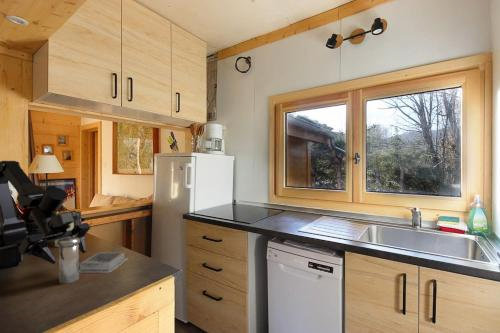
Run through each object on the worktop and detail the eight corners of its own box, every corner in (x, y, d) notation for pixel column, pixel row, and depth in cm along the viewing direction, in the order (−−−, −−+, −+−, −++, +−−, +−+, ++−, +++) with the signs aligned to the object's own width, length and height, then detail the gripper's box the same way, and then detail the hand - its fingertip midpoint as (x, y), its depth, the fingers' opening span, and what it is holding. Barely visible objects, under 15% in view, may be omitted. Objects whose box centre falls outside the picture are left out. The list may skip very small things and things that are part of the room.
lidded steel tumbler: (57, 286, 74) (56, 243, 74) (58, 278, 79) (58, 238, 79) (80, 281, 78) (80, 240, 77) (80, 274, 82) (80, 235, 82)
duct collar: (75, 272, 84) (75, 264, 84) (97, 258, 96) (97, 251, 96) (110, 272, 84) (110, 264, 84) (127, 258, 96) (127, 251, 96)
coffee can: (75, 238, 122) (75, 210, 121) (85, 242, 116) (85, 212, 116) (50, 244, 113) (49, 214, 113) (59, 248, 107) (59, 216, 107)
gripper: (23, 209, 71) (49, 251, 67) (86, 200, 89) (109, 233, 85) (8, 233, 74) (31, 275, 70) (72, 220, 91) (93, 253, 88)
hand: (70, 257), depth 78 cm, fingers open, 9 cm apart
